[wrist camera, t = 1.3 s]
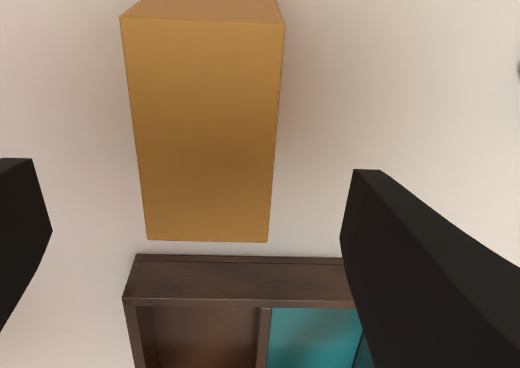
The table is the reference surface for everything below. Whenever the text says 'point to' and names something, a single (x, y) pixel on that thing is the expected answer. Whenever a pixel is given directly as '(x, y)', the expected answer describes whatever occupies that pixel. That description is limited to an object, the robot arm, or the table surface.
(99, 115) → the table surface
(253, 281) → the organizer
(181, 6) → the carton
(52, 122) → the table surface
